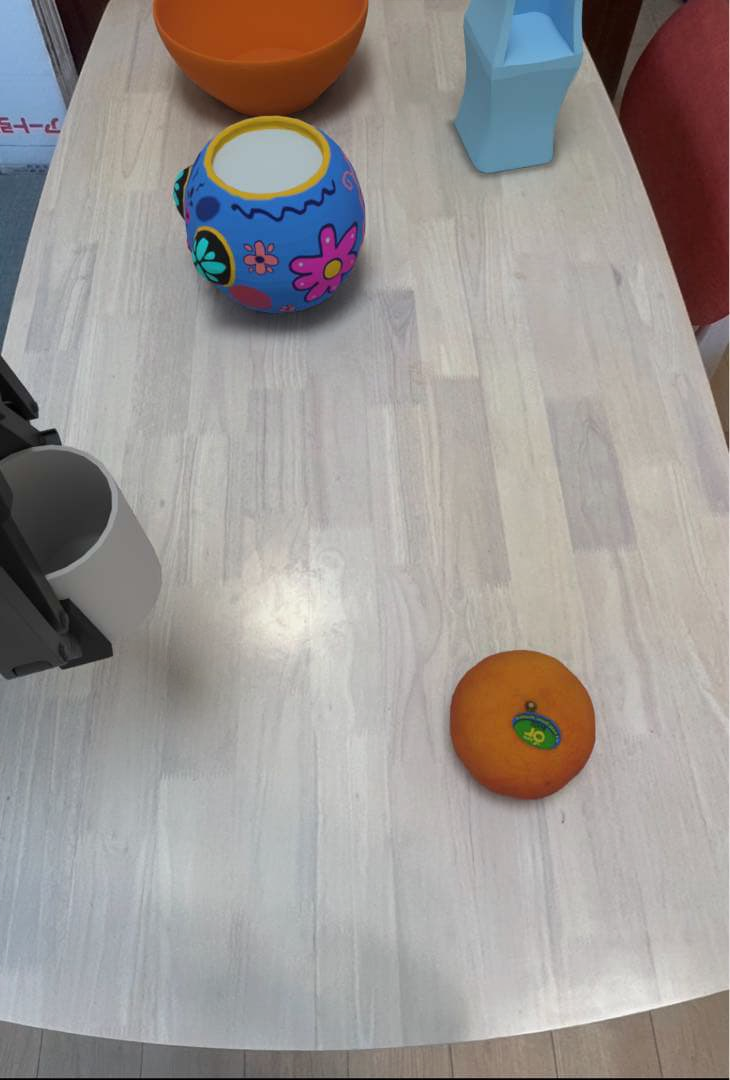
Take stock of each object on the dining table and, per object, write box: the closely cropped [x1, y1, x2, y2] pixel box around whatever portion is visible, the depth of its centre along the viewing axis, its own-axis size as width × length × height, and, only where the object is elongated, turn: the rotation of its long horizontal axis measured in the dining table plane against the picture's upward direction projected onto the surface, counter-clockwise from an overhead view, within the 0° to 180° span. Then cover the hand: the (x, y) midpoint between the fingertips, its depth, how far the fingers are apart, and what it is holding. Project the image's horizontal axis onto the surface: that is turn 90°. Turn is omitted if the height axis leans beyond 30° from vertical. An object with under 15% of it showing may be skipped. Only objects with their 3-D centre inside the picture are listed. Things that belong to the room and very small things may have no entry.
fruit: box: [449, 649, 597, 801], centre depth 55 cm, size 11×10×8 cm
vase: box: [453, 0, 584, 174], centre depth 79 cm, size 10×10×25 cm
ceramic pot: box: [172, 116, 367, 314], centre depth 74 cm, size 18×18×15 cm
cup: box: [0, 445, 163, 643], centre depth 38 cm, size 7×10×9 cm
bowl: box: [152, 0, 369, 117], centre depth 92 cm, size 25×25×10 cm
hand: (78, 590), depth 42 cm, fingers closed on cup, 7 cm apart
